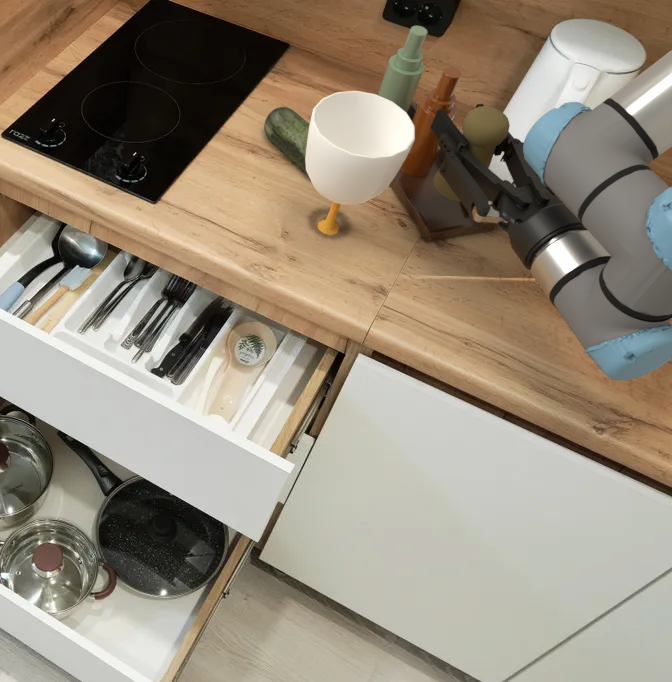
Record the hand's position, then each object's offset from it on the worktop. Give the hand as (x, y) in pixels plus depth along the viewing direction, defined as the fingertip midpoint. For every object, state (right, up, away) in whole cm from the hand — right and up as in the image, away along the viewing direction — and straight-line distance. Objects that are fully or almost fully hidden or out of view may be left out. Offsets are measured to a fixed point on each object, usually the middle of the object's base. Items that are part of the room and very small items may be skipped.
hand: (456, 115), depth 100 cm
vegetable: (-18, -2, +12) cm, 21 cm away
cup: (-15, -14, +4) cm, 21 cm away
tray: (-2, -4, +12) cm, 12 cm away
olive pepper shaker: (+1, -8, +3) cm, 9 cm away
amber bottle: (-2, -4, +11) cm, 12 cm away
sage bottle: (-4, +3, +16) cm, 17 cm away
